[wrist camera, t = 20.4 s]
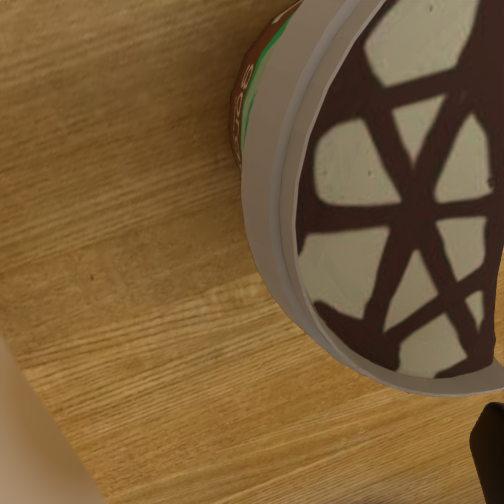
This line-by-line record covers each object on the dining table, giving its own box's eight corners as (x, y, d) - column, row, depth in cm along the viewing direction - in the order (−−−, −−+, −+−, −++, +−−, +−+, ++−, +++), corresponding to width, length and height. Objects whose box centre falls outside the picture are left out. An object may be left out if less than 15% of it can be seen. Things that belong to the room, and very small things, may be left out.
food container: (156, -29, 16) (192, -92, 7) (333, -66, 16) (570, -165, 8) (234, 286, 21) (307, 471, 13) (362, 249, 22) (517, 399, 13)
